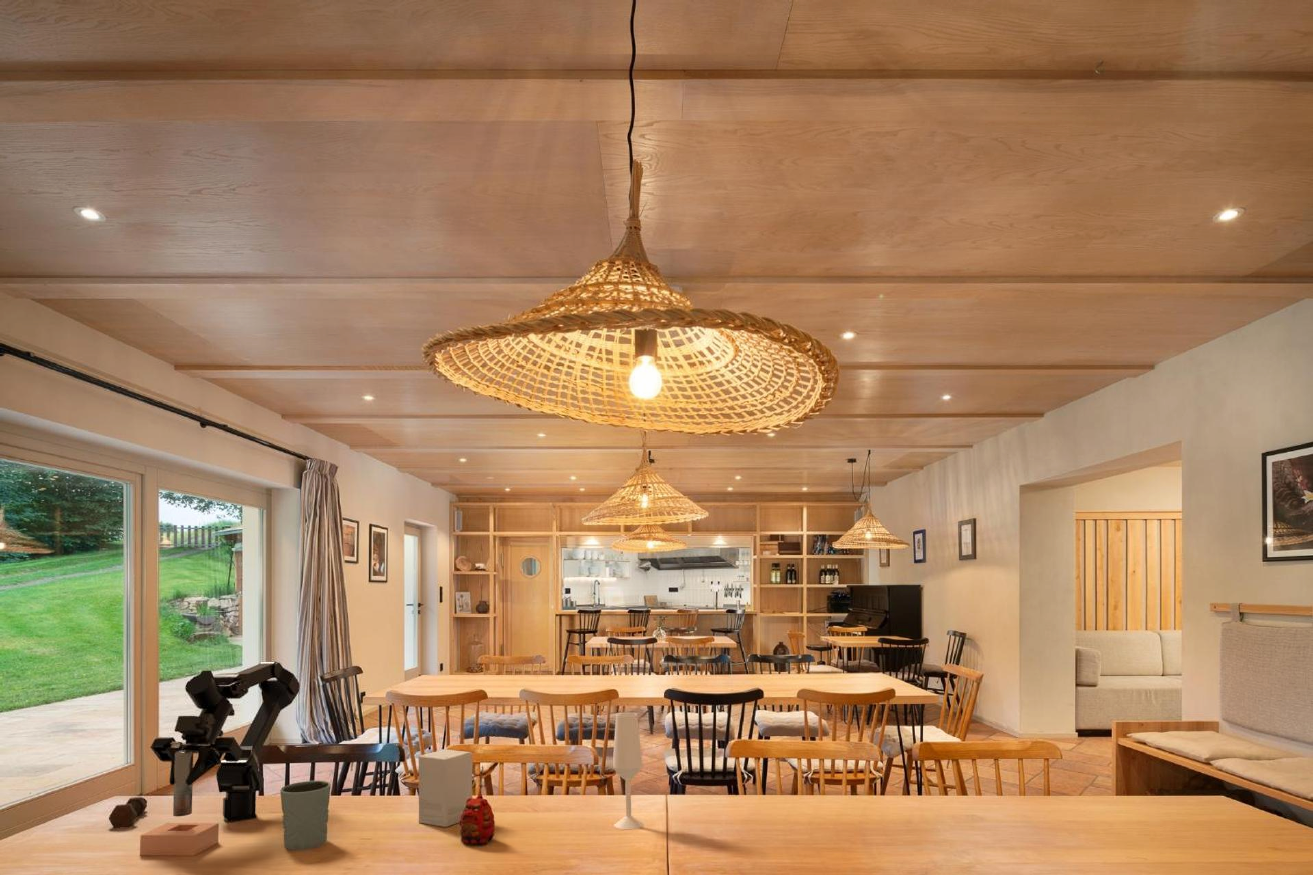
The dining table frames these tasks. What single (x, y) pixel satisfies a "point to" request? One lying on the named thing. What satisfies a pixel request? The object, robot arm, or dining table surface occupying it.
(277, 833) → the dining table surface
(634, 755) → the champagne flute
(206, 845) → the socket block
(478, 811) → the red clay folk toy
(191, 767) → the peg
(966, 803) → the dining table surface
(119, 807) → the bolt
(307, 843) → the green cup
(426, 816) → the supplement box
